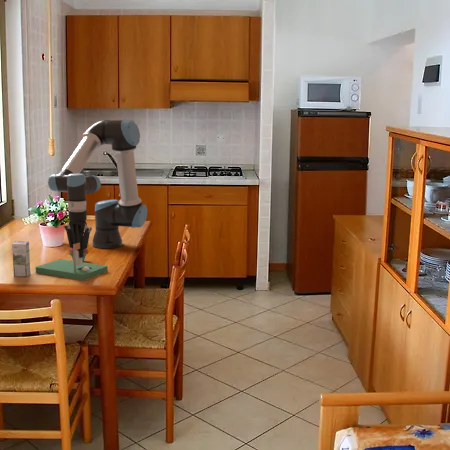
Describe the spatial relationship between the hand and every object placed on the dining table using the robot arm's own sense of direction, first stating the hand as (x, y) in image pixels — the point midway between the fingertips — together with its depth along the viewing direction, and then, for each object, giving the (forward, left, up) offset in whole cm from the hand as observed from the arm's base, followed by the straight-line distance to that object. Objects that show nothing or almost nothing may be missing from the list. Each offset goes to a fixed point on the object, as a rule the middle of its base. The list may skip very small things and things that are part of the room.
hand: (79, 264), depth 271 cm
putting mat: (0, -4, -4) cm, 6 cm away
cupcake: (-16, -13, -4) cm, 21 cm away
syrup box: (+14, -19, -4) cm, 24 cm away
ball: (0, +4, -2) cm, 4 cm away
